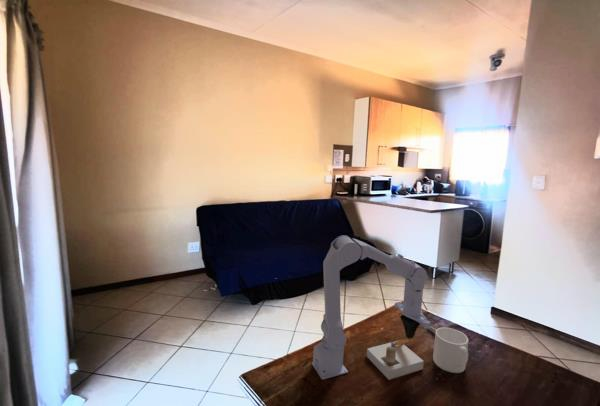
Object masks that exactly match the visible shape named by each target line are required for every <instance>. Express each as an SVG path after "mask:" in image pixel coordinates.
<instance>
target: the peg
mask: <svg viewBox="0 0 600 406" xmlns="http://www.w3.org/2000/svg"><path fill="white" fill-rule="evenodd" d="M395 356H396V349H395V348H393V347H387V348H386V361H385V363H386V364H387V365H388V366H393V365H395Z"/></svg>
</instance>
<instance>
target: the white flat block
mask: <svg viewBox="0 0 600 406" xmlns="http://www.w3.org/2000/svg"><path fill="white" fill-rule="evenodd" d="M400 340H401V339H399V340H398V341H400ZM396 341H397V340H395V341H392V342H387V343H385V344H384V343H383V344H380V345H377V346H372V347H368V348H366V358H368V359H369V361H370V362H371V363H372V364H373V365H374V366H375V367H376V368H377V369H378V370H379V371H380V372H381V373H382V374H383V375H384V376H385V378H386V379H387V380H389V381H390V380H392V379H395V378H399V377H403V376H406V375H409V374H411V373H416V372H418V371H421V370H423V369H424V363H425V361H424V360H423V359H422V358H421V357H420V356H418V354H416V353H415V352H414V351H412V350H411V349H410V348H409V347H407V346H406V345H405V343H404V344H400V345H395V342H396ZM387 347H393V348H395V349H396V356H395V365H393V366H388V365H387V364H386V363H385V361H386V348H387Z"/></svg>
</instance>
